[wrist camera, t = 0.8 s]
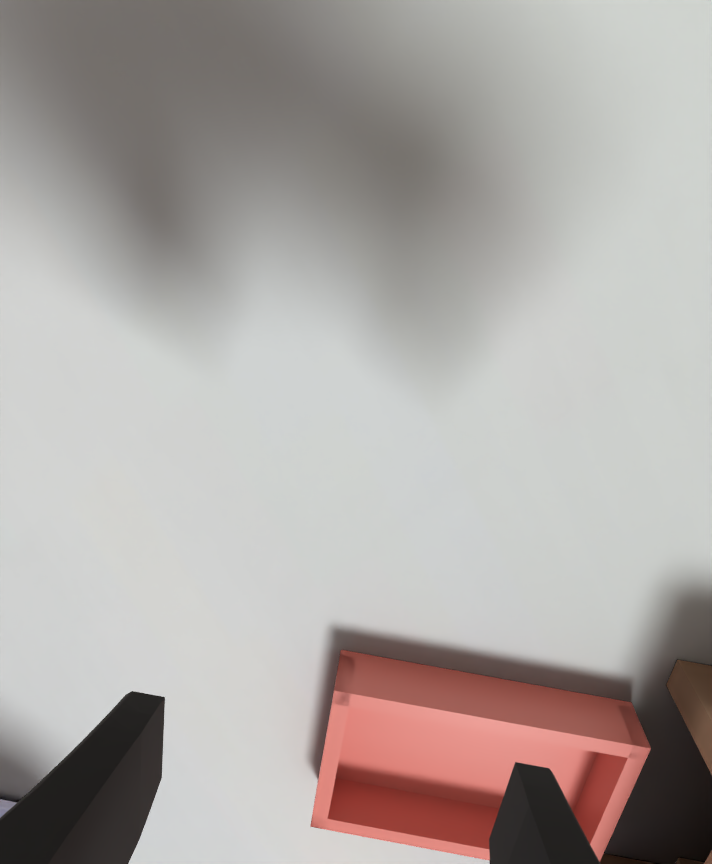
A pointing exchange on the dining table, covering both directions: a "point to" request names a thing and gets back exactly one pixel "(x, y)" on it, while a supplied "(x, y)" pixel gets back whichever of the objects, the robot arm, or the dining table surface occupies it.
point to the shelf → (688, 724)
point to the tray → (465, 753)
